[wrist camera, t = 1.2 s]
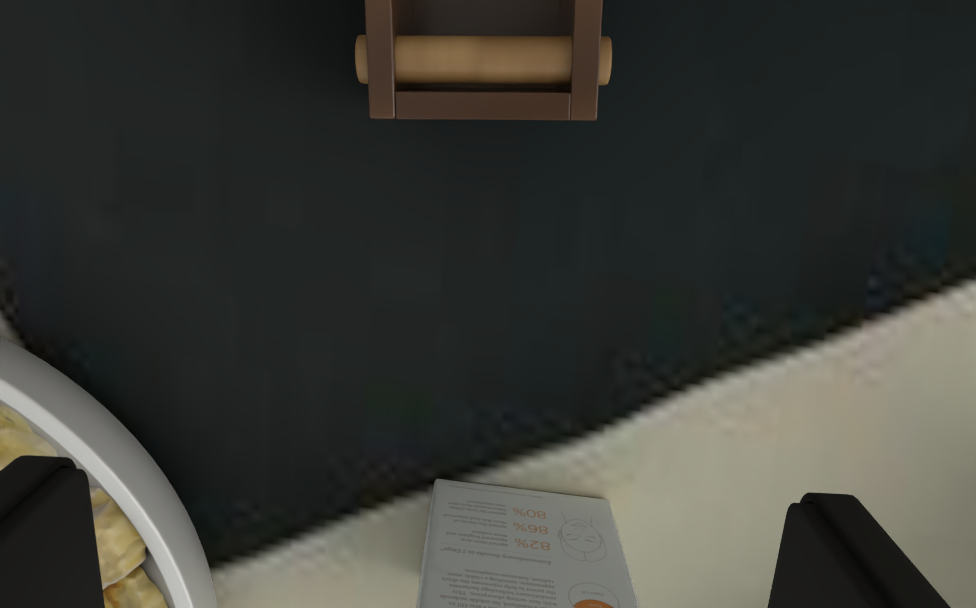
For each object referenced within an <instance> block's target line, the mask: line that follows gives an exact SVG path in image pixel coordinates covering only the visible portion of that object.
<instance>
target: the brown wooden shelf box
mask: <svg viewBox="0 0 976 608" xmlns="http://www.w3.org/2000/svg"><path fill="white" fill-rule="evenodd" d="M602 7H603V0H365V23H366V35H359V36H358V37H357V40H356V45H355V64H356V72H357V77H358V79H359V82H360V83H363V84H368V95H369V116H370V118H372V119H394V118H396V119H441V120H581V121H595V120H597V107H598V87H599V85H606V84H608V81H609V79H610V74H611V65H612V44H611V39H610V38H609V37H601V27H602Z"/></svg>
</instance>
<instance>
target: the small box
mask: <svg viewBox="0 0 976 608" xmlns="http://www.w3.org/2000/svg"><path fill="white" fill-rule="evenodd" d="M416 608H640V607H639V604H638V600H637V597H636V593H635V590H634V586H633V583H632V579H631V576H630V572H629V569H628V566H627V562H626V558H625V555H624V552H623V548H622V545H621V541H620V538H619V535H618V531H617V528H616V524H615V521H614V517H613V514H612V510H611V507H610V503H609V501H608V500H606V499H598V498H589V497H581V496H573V495H565V494H557V493H549V492H540V491H532V490H524V489H516V488H509V487H501V486H492V485H484V484H475V483H467V482H460V481H451V480H444V479H436V480H435V482H434V488H433V494H432V500H431V507H430V513H429V519H428V526H427V533H426V539H425V546H424V552H423V559H422V567H421V574H420V582H419V590H418V597H417V605H416Z"/></svg>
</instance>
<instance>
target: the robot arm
mask: <svg viewBox="0 0 976 608" xmlns="http://www.w3.org/2000/svg"><path fill="white" fill-rule="evenodd" d="M0 608H105V604H104V596H103V588H102V581H101V573H100V565H99V557H98V550H97V542H96V534H95V526H94V519H93V511H92V503H91V495H90V488H89V480H88V476H87V474H86V472H85V471H84V470H82V469H77V468H76V465H75V463H74V462H73V460H72V459H70V458H68V457H55V456H34V455H23V456H20V457H18V458H16V459H14V460H13V461H12V462H11V463H9V464H8V465H7V466H6V467H5V468H3V469H2V470H1V471H0ZM768 608H950V606H949V605H948V604H947V603H946V602H945V601H944V599H943V598H942V597H941V596H940V595H939V594H938V592H937V591H936V590H935V589H934V588H933V587H932V585H931V584H930V583H929V582H928V581H927V580H926V578H925V577H924V576H923V575H922V574H921V573H920V571H919V570H918V569H917V568H916V567H915V566H914V564H913V563H912V562H911V561H910V560H909V559H908V557H907V556H906V555H905V554H904V553H903V552H902V550H901V549H900V548H899V547H898V546H897V545H896V543H895V542H894V541H893V540H892V539H891V538H890V536H889V535H888V534H887V533H886V532H885V531H884V529H883V528H882V527H881V526H880V525H879V524H878V522H877V521H876V520H875V519H874V518H873V517H872V515H871V514H870V513H869V512H868V511H867V510H866V508H865V507H864V506H863V505H862V504H861V503H860V501H859V500H858V499H857V498H855V497H854V496H853V495H848V494H828V493H807V494H805V495H804V496H803V497H802V499H801V501H800V503H792V504H791V505H790V506H789V508H788V511H787V514H786V519H785V524H784V529H783V534H782V539H781V544H780V549H779V554H778V559H777V564H776V569H775V574H774V579H773V584H772V589H771V594H770V599H769V604H768Z"/></svg>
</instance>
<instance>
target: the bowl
mask: <svg viewBox="0 0 976 608" xmlns="http://www.w3.org/2000/svg"><path fill="white" fill-rule="evenodd" d="M23 455H34V456H55V457H68V458H70V459H72V460H73V462H74V463H75V465H76V468H77V469H82V470H84V471H85V472H86V474H87V476H88V480H89V488H90V495H91V503H92V511H93V519H94V526H95V534H96V542H97V550H98V557H99V565H100V573H101V581H102V588H103V596H104V604H105V608H218V607H217V601H216V595H215V589H214V585H213V581H212V577H211V572H210V569H209V566H208V562H207V559H206V556H205V553H204V550H203V547H202V545H201V542H200V540H199V537H198V535H197V532H196V530H195V528H194V526H193V524H192V521H191V519H190V517H189V515H188V513H187V511H186V509H185V507H184V506H183V504H182V502H181V500H180V499H179V497H178V495H177V493H176V492H175V490H174V489H173V487H172V485H171V484H170V482H169V481H168V479H167V478H166V476H165V475H164V473H163V472H162V471H161V469H160V468H159V467H158V465H157V464H156V462H155V461H154V460H153V458H152V457H151V456H150V455H149V453H148V452H147V451H146V450H145V449H144V447H143V446H142V445H141V444H140V443H139V441H138V440H137V439H136V438H135V437H134V436H133V435H132V434H131V433H130V432H129V431H128V429H127V428H126V427H125V426H124V425H123V424H122V423H121V422H120V421H119V420H118V419H117V418H116V417H115V416H114V415H113V414H112V413H110V412H109V411H108V410H107V409H106V408H105V407H104V406H103V405H102V404H101V403H100V402H98V401H97V400H96V399H95V398H94V397H92V396H91V395H90V394H89V393H88V392H87V391H85V390H84V389H83V388H81V387H80V386H79V385H77V384H76V383H75V382H74V381H72V380H71V379H70V378H68V377H67V376H65V375H64V374H63V373H61V372H60V371H58V370H57V369H55V368H54V367H52V366H51V365H49V364H48V363H46V362H45V361H43V360H42V359H40V358H38V357H37V356H35V355H33V354H32V353H30V352H28V351H27V350H25V349H23V348H21V347H20V346H18V345H16V344H14V343H12V342H10V341H8V340H6V339H5V338H3V337H1V336H0V471H1V470H2V469H3V468H5V467H6V466H7V465H8V464H9V463H11V462H12V461H13V460H14V459H16V458H18V457H20V456H23Z"/></svg>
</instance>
